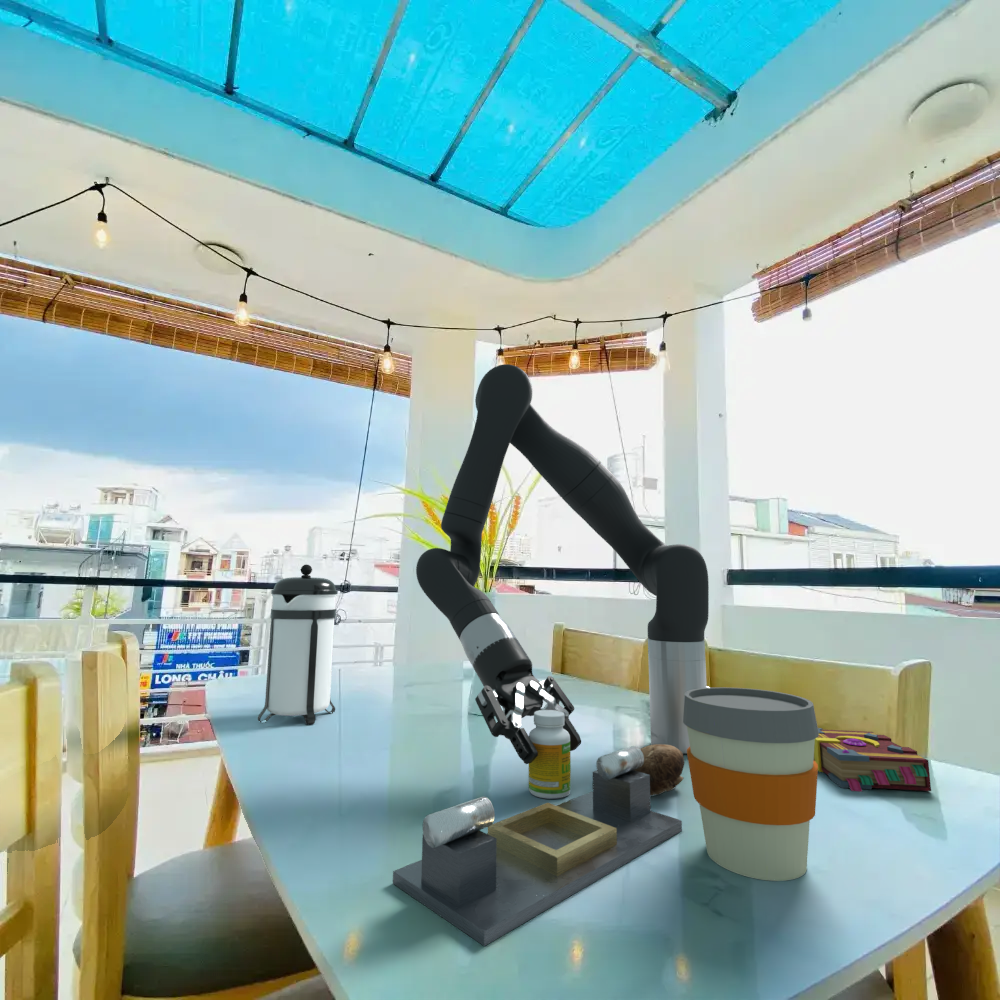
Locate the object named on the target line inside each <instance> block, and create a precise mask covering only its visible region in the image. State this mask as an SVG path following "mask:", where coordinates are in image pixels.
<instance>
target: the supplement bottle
mask: <svg viewBox="0 0 1000 1000" xmlns="http://www.w3.org/2000/svg"><path fill="white" fill-rule="evenodd" d="M533 724H534V725H535V727H533V728H532V729H531V730H530V731H529V734H528V736H529V738H530V739H531V741H532V743H533V745H534V746H535V748H536V750H537V752H538V756H537V757H536V758H535V759H534V760H533V762H532V763H529V764H528V791H529V793H530V794H531V795H533V796H535V797H536V798H541V799H545V800H546V799H547V800H551V799H552V800H556V799H562V798H565V797H568V796H569V795H570V794H571V788H572V786H571V784H572V783H571V781H572V779H571V777H572V776H571V775H572V774H571V770H572V768H571V765H572V764H571V763H572V762H571V751H570V735H569V733H568V731H566V730H565V729H563V726H564V725H565V716H564V713H563V712H560V711H556V710H539V711H536V712H534V716H533Z"/></svg>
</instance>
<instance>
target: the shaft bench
mask: <svg viewBox="0 0 1000 1000" xmlns="http://www.w3.org/2000/svg"><path fill="white" fill-rule="evenodd" d="M640 749H641V748H640V747H638V746H636V745H632V746H628V747H625V748H623V749H620V750H617V751H613V752H610V753H608V754H605V755H602V756H599V757H598V758H597V759H596V765H595V767H596V770H594V771H592V791H590V792H588V793H584V794H582V795H580V796H576V797H575V798H572V799H570V800H568V801H564V802H562V803H560V804H558V805H555V804H553V803H550V802H545V803H543V804H541V805H538V806H536V807H533V808H530V809H527V810H526V811H523V812H520V813H517V814H515V815H513V816H510V817H508V818H505V819H501V820H499V821H497V822H494V821H495V817H496V814H495V812H496V811H495V808H494V805H493V803H492V801H491V800H490V799H489V798H488V797H487V796H481V797H478V798H474V799H471V800H469V801H465V802H462V803H459V804H457V805H454V806H451V807H448V808H444V809H442V810H441V809H440V810H439V811H435V812H433V813H430V814H427V815H426V816H425V817H424V818H423V820H422V821H423V822H422V840H421V841H422V843H421V844H422V850H421V859H420V860H417V861H415V862H413V863H410V864H408V865H405V866H402V867H400V868H397V869H395V870H392V884H393V885H394V886H396V887H397V888H398V889H400V890H401V891H403V892H405V893H406V894H407V895H409V896H410V897H412V898H413V899H415V900H416V901H418V902H419V903H421V904H422V905H423V906H425V907H426V908H428V909H429V910H430V911H432V912H434V913H435V914H437V915H438V916H440V917H441V918H443V919H444V920H445V921H446V922H448V923H450V924H451V925H453V926H455V927H456V928H457V929H459V930H460V931H462V932H463V933H464V934H466V935H467V936H469V937H470V938H471V939H473V940H474V941H476V942H477V943H479V944H480V945H482V946H484V947H485V946H487V945H489V944H490V943H492V942H494V941H496V940H498V939H499V938H501V937H503V936H505V935H506V934H508V933H509V932H512V931H513V930H514V929H516V928H518V927H520V926H522V925H523V924H525V923H526V922H528V921H530V920H532V919H534V918H535V917H537V916H538V915H540V914H542V913H543V912H546V911H547V910H549V909H550V908H552V907H554V906H556V905H557V904H559V903H561V902H563V901H564V900H566V899H567V898H569V897H571V896H573V895H574V894H576V893H578V892H580V891H582V890H583V889H585V888H587V887H588V886H590V885H591V884H593V883H595V882H596V881H598V880H600V879H603V878H604V877H605V876H607V875H609V874H610V873H612V872H613V871H616V870H617V869H619V868H620V867H622V866H625V865H626V864H627V863H629V862H631V861H633V860H635V859H636V858H638V857H639V856H641V855H643V854H645V853H646V852H649V851H650V850H652V849H653V848H655V847H656V846H658V845H660V844H662V843H664V842H666V841H667V840H668V839H671V838H672V837H674V836H675V835H677V834H679V833H680V832H682V831H683V822H682V820H681V819H678V818H675V817H672V816H668V815H665V814H662V813H659V812H657V811H653V810H652V808H651V807H652V806H651V796H650V775H649V774H645V773H642V772H638V771H634V770H635V769H637V768H640V767H641V766H642V765H643V763H644V756H643V753H642V751H641V750H640ZM486 828H487V832H484V831H481V830H483V829H486Z"/></svg>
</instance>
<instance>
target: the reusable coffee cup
mask: <svg viewBox="0 0 1000 1000" xmlns="http://www.w3.org/2000/svg"><path fill="white" fill-rule="evenodd" d="M683 723H684V724H685V725H686V726H687V730H688V737H689V743H690V747H689V748H688V749H687V753H686V754H687V762H688V768H689V774H690V779H691V780H690V781H691V787H692V793H693V797H694V799H695V802H697V803H698V804H699V809H700V817H701V822H702V829H703V835H704V840H705V841H704V842H705V847H706V853H707V855H708V856H709V858H710V859H711V860H712V861H713V862H714V863H716V864H717V865H719V866H720V867H722V868H723V869H725V870H728V871H730V872H732V873H734V874H737V875H739V876H740V875H741V876H744V877H748V878H752V879H756V880H762V881H772V882H782V881H783V882H784V881H790V880H796V879H798V878H801V877H802V876H803V875H805V874H806V872H807V867H808V856H809V855H808V854H809V853H808V852H809V840H810V839H809V837H810V836H809V835H810V823H811V822H810V821H811V820H812V819H814V818H815V816H816V807H817V805H816V804H817V787H818V775H819V774H818V773H819V771H818V764H817V763H816V762H815V761H814V744H815V739H816V738H817V737H818V736H819V732H818V728H819V727H818V722H817V718H816V712H815V706H814V703H813V701H811V700H810V699H808V698H806V697H802V696H798V695H794V694H791V693H790V694H789V693H785V692H780V691H773V690H766V689H758V688H746V687H744V688H743V687H723V686H721V687H710V688H700V689H693V690H690V691H687V692H686V693H685V700H684V714H683Z"/></svg>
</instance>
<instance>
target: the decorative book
mask: <svg viewBox="0 0 1000 1000" xmlns="http://www.w3.org/2000/svg"><path fill="white" fill-rule="evenodd" d="M818 732H819V736H818V737H817V738H816V739H815V744H814V761H815V762H816V763H817V764H818V773H824V774H826V775H827V776H828V779H830V780H831V781H832V782H833V783H835V784H836V785H837V786H839V787H840V788H841V789H850V791H851V792H863V790H872V788H873V789H889V790H907V791H923V792H932V786H931V784H932V783H931V775H930V774H931V773H930V765H929V760H928V759H927V758H925V757H922V756H921V755H919V754H918V751H917V750H915V749H913V748H911V747H909V746H901V745H899V744H898V743H896V742H893V741H892V738H891V737H889V736H887V735H885V734H878V733H875V732H873V731H863V730H862V731H861V730H842V729H841V730H839V729H823V728H821V727H818Z"/></svg>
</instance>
